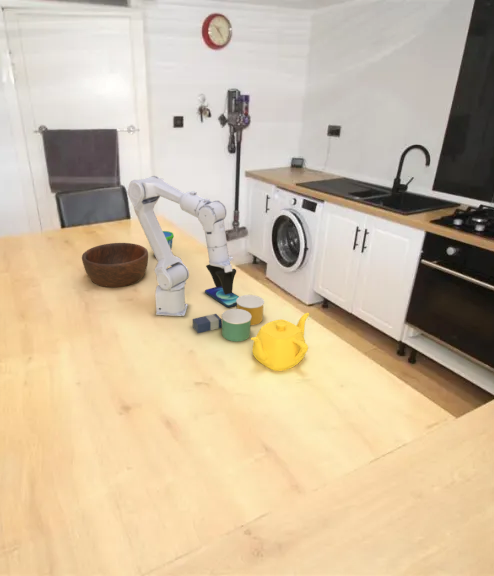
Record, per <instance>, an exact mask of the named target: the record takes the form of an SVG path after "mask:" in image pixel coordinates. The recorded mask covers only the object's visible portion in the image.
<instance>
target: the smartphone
mask: <svg viewBox="0 0 494 576" xmlns="http://www.w3.org/2000/svg"><path fill="white" fill-rule="evenodd" d="M204 293H205V294H207V295H208V296H210V297H211V298H212V299H213V300H215V301H217V302H218V303H220V304H221V305H223V306H224V307H226V308H232V307H235V306H236V307H237V302H236V300H237V298H238V297H240V296H239V295H237V294H236V293H234V292H232V293H230V294H225V293H224V291H223V288H222V286H221V287H216V286H214V287H210V288H207V289H205V290H204Z"/></svg>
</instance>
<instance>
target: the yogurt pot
mask: <svg viewBox="0 0 494 576" xmlns="http://www.w3.org/2000/svg"><path fill="white" fill-rule="evenodd" d="M221 319H222V328H221V335H222V338H224V339H225V340H227V341H229V342H237V343H238V342H244V341H246V340H248V339H249V338H250V336H251V325H250V323H251V314H250V313H249V312H248V311H245V310H242V309H237V308H230V309H227V310H224V311H223V312H222V314H221Z"/></svg>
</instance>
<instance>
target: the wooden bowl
mask: <svg viewBox="0 0 494 576" xmlns="http://www.w3.org/2000/svg"><path fill="white" fill-rule="evenodd" d="M81 260H82V264H83V269H84V271H85V273H86V275H87V277H88V278H89V280H90V281H91V282H93V283H94V284H95V285H97V286H100V287H103V288H104V287H105V288H121V287H122V288H123V287H127V286H130V285H134V284H136V283H138V282H139V281H141V279H143V277H144V276H145V274H146V271H147V268H148V264H149V263H148V262H149V251H148V249H147V248H146V247H145V246H143V245H141V244H137V243H131V242H112V243H105V244H100V245H97V246H93V247H91V248H89V249H87V250H85V251H84V252H83V254H82V255H81Z"/></svg>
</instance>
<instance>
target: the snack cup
mask: <svg viewBox="0 0 494 576" xmlns="http://www.w3.org/2000/svg"><path fill="white" fill-rule="evenodd" d="M162 231H163V233H164V235H165V238H166V240H167V242H168V244H169V246H170V249H171V251H172V250H173V249H172V248H173V241H174V237H175V236H174V232H172V231H167V230H162ZM152 252H153V251H152ZM153 256H154V257H155V255H154V252H153Z"/></svg>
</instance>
